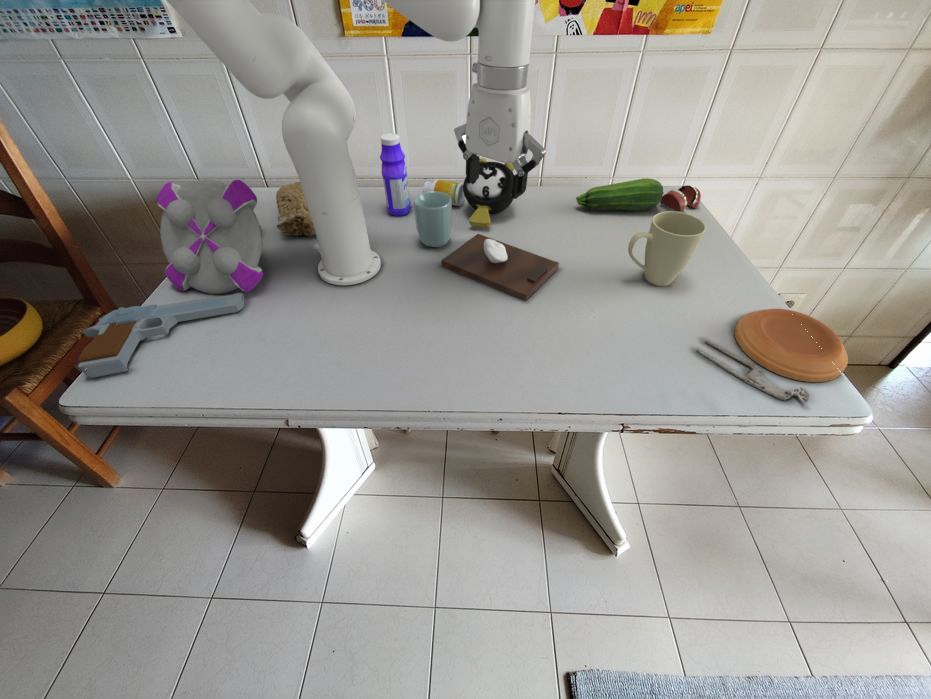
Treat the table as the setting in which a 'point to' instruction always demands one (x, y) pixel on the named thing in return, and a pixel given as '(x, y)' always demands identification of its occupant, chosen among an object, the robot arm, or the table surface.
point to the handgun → (142, 330)
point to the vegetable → (623, 196)
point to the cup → (433, 218)
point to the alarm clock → (489, 191)
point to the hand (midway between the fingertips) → (494, 188)
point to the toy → (210, 236)
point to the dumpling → (495, 251)
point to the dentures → (682, 198)
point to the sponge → (293, 211)
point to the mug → (668, 245)
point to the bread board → (502, 268)
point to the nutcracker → (759, 378)
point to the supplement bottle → (447, 190)
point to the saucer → (791, 344)
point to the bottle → (394, 175)
